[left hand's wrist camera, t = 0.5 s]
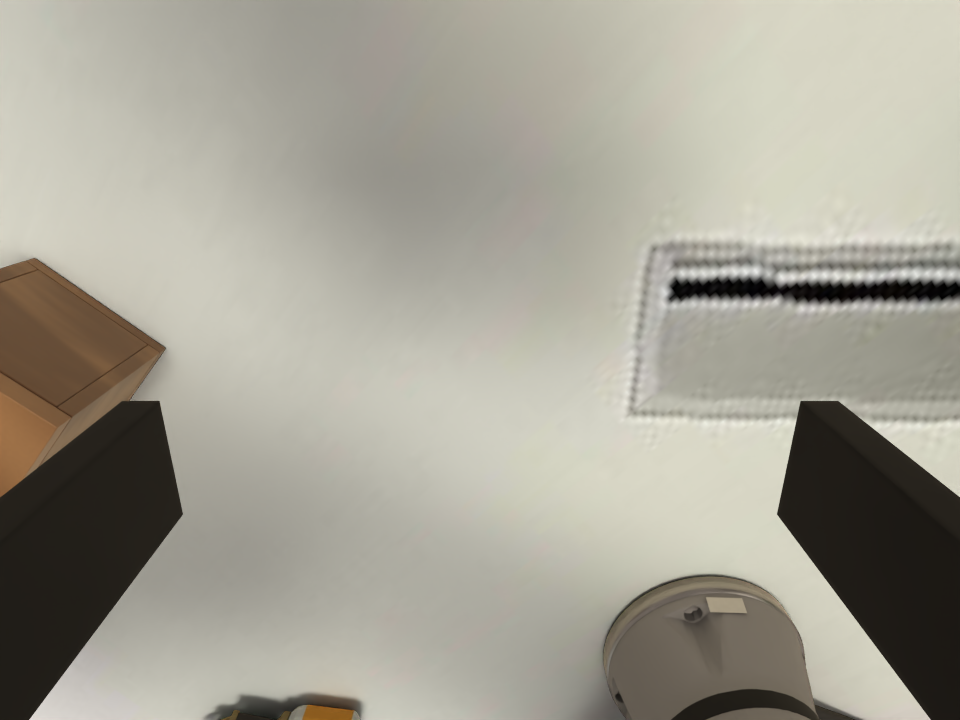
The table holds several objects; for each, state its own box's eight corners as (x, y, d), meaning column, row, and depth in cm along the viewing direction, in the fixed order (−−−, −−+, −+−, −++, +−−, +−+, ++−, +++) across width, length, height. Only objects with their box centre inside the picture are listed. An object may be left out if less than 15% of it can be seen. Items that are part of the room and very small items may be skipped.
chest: (74, 477, 44) (-34, 574, 35) (-51, 401, 42) (-203, 482, 33) (166, 348, 41) (72, 416, 31) (34, 257, 39) (-109, 301, 29)
